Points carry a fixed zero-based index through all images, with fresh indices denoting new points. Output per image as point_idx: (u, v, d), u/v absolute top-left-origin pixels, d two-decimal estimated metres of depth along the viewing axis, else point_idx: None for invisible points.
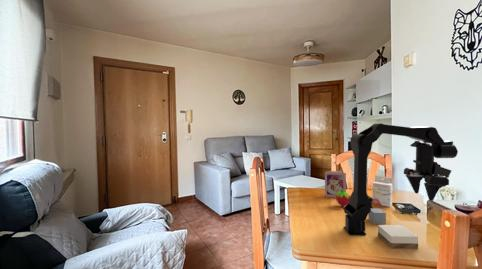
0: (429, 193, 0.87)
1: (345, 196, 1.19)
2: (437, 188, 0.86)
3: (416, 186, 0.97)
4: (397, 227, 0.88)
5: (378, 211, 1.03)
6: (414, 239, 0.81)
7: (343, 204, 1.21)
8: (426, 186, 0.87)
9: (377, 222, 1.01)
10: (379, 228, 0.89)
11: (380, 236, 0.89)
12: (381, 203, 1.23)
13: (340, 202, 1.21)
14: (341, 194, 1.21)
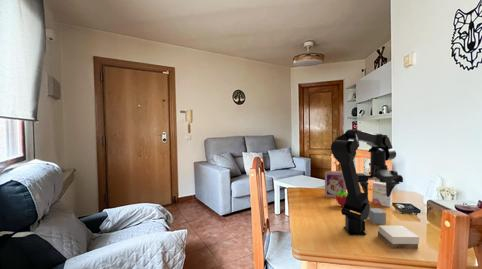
0: None
1: (345, 196, 1.19)
2: None
3: (388, 189, 1.03)
4: (397, 227, 0.88)
5: (378, 211, 1.03)
6: (415, 239, 0.81)
7: (343, 204, 1.21)
8: None
9: (377, 222, 1.01)
10: (380, 229, 0.89)
11: (380, 236, 0.89)
12: (381, 203, 1.23)
13: (340, 202, 1.21)
14: (341, 194, 1.21)
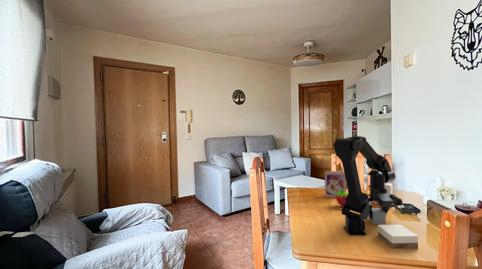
0: None
1: (345, 196, 1.19)
2: None
3: None
4: (396, 227, 0.88)
5: (378, 210, 1.03)
6: (414, 238, 0.81)
7: (343, 204, 1.21)
8: None
9: (377, 222, 1.01)
10: (379, 228, 0.89)
11: (380, 236, 0.89)
12: None
13: (340, 202, 1.21)
14: (341, 194, 1.21)
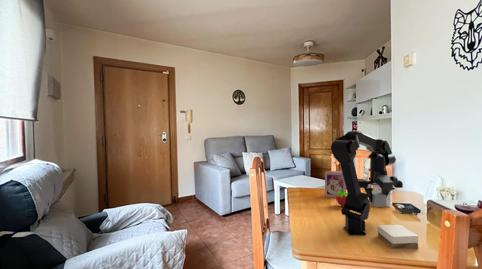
0: (367, 194, 1.05)
1: (345, 196, 1.19)
2: (368, 191, 1.02)
3: None
4: (396, 227, 0.88)
5: (378, 193, 1.03)
6: (414, 238, 0.81)
7: (343, 204, 1.21)
8: None
9: (377, 204, 1.01)
10: (379, 228, 0.89)
11: (380, 236, 0.89)
12: None
13: (340, 202, 1.21)
14: (341, 194, 1.21)
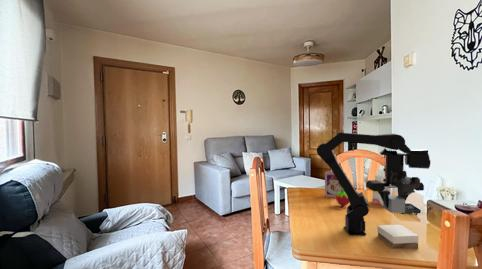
0: (382, 198, 0.90)
1: (345, 196, 1.19)
2: (384, 195, 0.87)
3: None
4: (396, 227, 0.88)
5: (395, 197, 0.88)
6: (415, 238, 0.82)
7: (343, 204, 1.21)
8: None
9: (395, 210, 0.86)
10: (379, 228, 0.89)
11: (380, 236, 0.89)
12: (381, 203, 1.23)
13: (340, 202, 1.21)
14: (341, 194, 1.21)
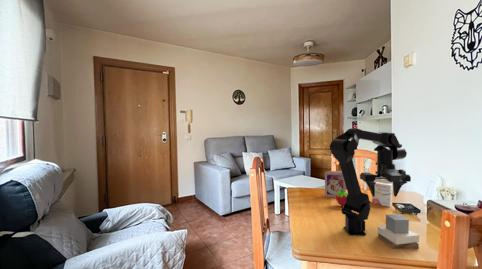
0: (369, 188, 1.02)
1: (345, 196, 1.19)
2: (370, 185, 1.00)
3: (395, 189, 1.01)
4: None
5: (398, 217, 0.85)
6: (416, 238, 0.82)
7: (343, 204, 1.21)
8: None
9: (399, 231, 0.83)
10: (379, 229, 0.88)
11: (380, 236, 0.89)
12: (381, 203, 1.23)
13: (340, 202, 1.21)
14: (341, 194, 1.21)
